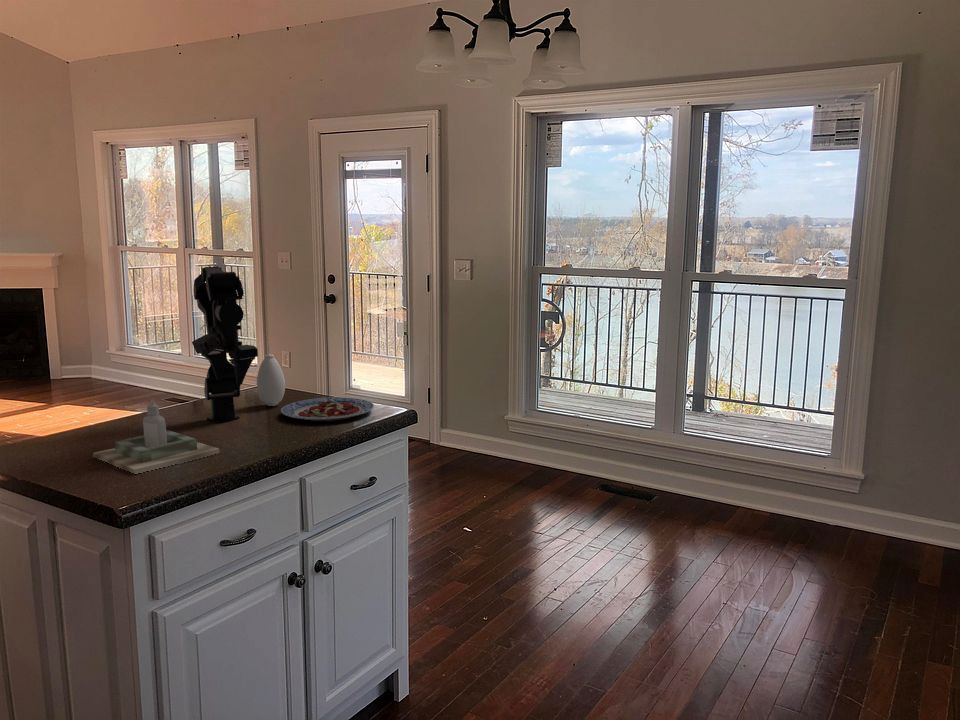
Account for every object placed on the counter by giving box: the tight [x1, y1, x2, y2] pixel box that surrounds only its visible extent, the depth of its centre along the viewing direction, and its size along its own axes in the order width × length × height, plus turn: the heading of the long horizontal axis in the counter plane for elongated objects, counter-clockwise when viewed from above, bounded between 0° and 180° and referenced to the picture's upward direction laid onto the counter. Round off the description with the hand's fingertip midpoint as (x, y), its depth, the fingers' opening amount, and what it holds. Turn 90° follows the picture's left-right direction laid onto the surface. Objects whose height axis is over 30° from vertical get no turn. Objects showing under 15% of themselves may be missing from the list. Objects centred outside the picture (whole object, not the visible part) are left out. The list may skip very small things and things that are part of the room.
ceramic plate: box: [280, 396, 375, 422], centre depth 217 cm, size 26×26×3 cm
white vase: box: [256, 345, 286, 407], centre depth 226 cm, size 8×8×18 cm
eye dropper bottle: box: [142, 399, 167, 448], centre depth 177 cm, size 4×6×12 cm
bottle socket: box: [93, 429, 220, 475], centre depth 178 cm, size 20×20×4 cm
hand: (229, 382), depth 196 cm, fingers open, 9 cm apart
